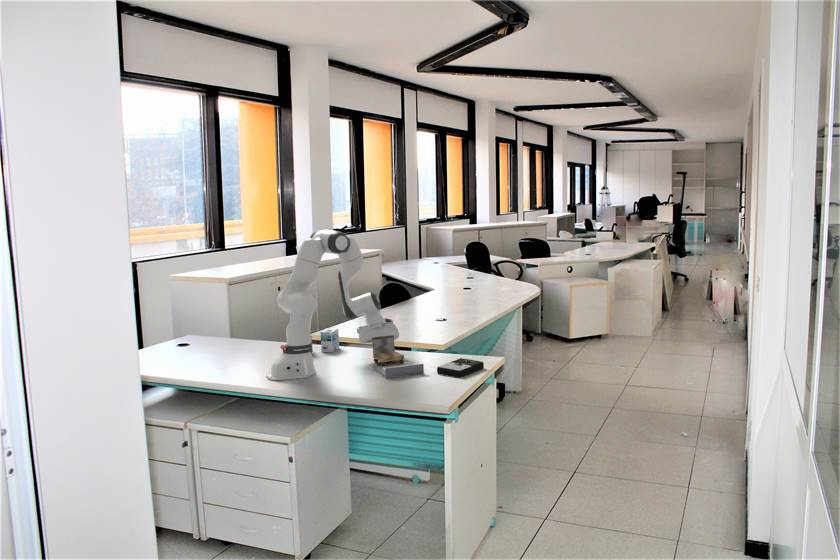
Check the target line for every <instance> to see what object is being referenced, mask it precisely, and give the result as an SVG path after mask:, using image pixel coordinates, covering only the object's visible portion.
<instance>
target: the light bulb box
mask: <svg viewBox="0 0 840 560" xmlns="http://www.w3.org/2000/svg"><path fill="white" fill-rule="evenodd" d="M339 337H340V335H339V328H334V327H333V328H330V327H326V328H325V329H324V330H323V329H322V331H320V346H321V349H320V351H321V353H334V352H335V351H337V350H338V349H340V339H339Z"/></svg>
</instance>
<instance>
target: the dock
mask: <svg viewBox="0 0 840 560" xmlns="http://www.w3.org/2000/svg"><path fill="white" fill-rule="evenodd" d="M395 363H396V364H395ZM395 363H389V364H387V363H386V365H385V366H382V365H381V364H380V365H372V366H370V368H371V369H373V370H374V371H375V372H377V373H378V374H379V375H380V376H382V377H383V378H384V379H386V380H387V379H395V378H400V377H408V376H409V375H410V376H416V374H417V375H424V374H423V373H425V372H424V371H425V369H424V363H415V364H414V363H412V362H407V361H404V363H403V364H400V363H399V362H395Z"/></svg>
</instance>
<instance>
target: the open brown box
mask: <svg viewBox="0 0 840 560" xmlns="http://www.w3.org/2000/svg"><path fill="white" fill-rule="evenodd" d="M371 344H372V358H373V362H374V363H378V362H379V361H380V365H382V366H385V365H387V362H393V361H398V363H400V364H403V363H404V362H405V355H404V354H402V353H400V352H397V351H396V350H395V346H396V345H395V340H394V335H390V336H382V337H373V338H372V343H371Z"/></svg>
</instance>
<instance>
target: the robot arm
mask: <svg viewBox="0 0 840 560" xmlns="http://www.w3.org/2000/svg"><path fill="white" fill-rule="evenodd" d="M325 253H326V254H335V255H338V260H339V261H340V269H339V270H338V273H337V278H338V285H339V291H340V297H341V299H342V300H341V301H342V311H343V314H344V316H345V318H346V319H349V320H355V319H357V318H359V317H362V316H364V318H365V324H366V325H362V326H358V327H357V328H356V333H357V334H358V341H359V342H360V344H362V345H363V344H369V343H371V344H372V338H373V337H382V336H390V335H394V341H397V340H398V339H399V337H400V331H399V329H398V328H397V325H396V324H394V320H393V319H392V318H386V317H383V315H382V311H381V309H382V305H381V302H380V299H379V296H378V294H376V293H374V292H371V291H370V292H367V293H364V294H361V295H359V296H356V297H353V298H351V297H350V292H349V288H348V286H349V283H350V281H352V280H353V279H354V278H355V277H356V276H358V274H360V272H361V271H362V270H363V268H364V267H365V266H364V265H365V262H364V261H365V260H364V257H363V254H362V251H361V249H360V246H359V244H358V242H357V241H356V239H355V237H353V235H349V234H345V233H344V232H342V231H340V230H333V229H330V228H328V229H325V228H324V229H322V228H321V229H317V230H315V231H313V232H312V233H311V234H310V237H309V238H308V237H307V238H305V239H304V240H303V241H302V243H301V244H300V247H299V249H298V253H297V255H296V257H295V262H294V266H293V269H292V272H291V275H290V277H289V278H288V281H287V283H286V284H285V286H284V288H283V289H282V290H281V291H280V292H279V293H278V295H277V298H276V303H277V306H278V307H279V308H280V309H281V310H282V311H284V312H285V313H289V321H288V324H287V325H286V328H285V336H286V338H285V339H286V344H283V343H282V344H280V347H279V348H281V350H282V353H281V354H280V355H279V356H278V357H276V358H275V359H274V360H273V361H272V363H271V368H270V369H271V370H269V371H267V372H266V378H267V379H268V380H270V381H283V380H284V381H286V380H294V379H296V378H299V379H306V377H307V378H309V377H310V376H313V375H315V374H316V373H317V371H316V367H315V365H314V360H313V353H314V352H313V342H312V343H311V336H312V335H311V334H312V333H311V328H310V325H311V323H312V318H313V315H314V313H315V312H316V310H317V307H318V302H317V299H316V298H315V296H313V294H311V293H309V292H308V291H309V289H310V287H311V285H313V284H314V283H315V282H316V279H317V275H318V272H319V269H320V265H321V260H322V257H323V255H324V254H325ZM311 326H312V325H311ZM310 333H311V334H310ZM312 352H313V353H312ZM296 380H297V379H296Z"/></svg>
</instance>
